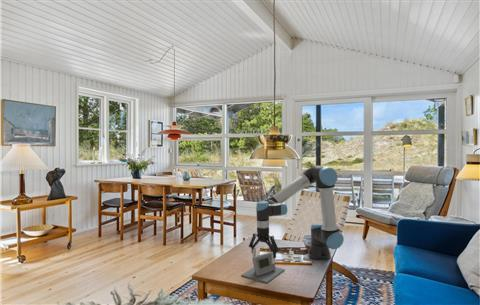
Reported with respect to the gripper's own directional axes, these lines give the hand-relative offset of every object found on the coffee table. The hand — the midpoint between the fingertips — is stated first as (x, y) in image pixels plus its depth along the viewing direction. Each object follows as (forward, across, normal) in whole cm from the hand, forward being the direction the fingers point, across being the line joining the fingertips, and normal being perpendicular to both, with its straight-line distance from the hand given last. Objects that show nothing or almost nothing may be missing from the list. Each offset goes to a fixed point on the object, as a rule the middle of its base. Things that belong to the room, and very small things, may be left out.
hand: (263, 260), depth 200 cm
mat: (+8, 0, 0) cm, 8 cm away
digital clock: (+7, 0, 0) cm, 7 cm away
